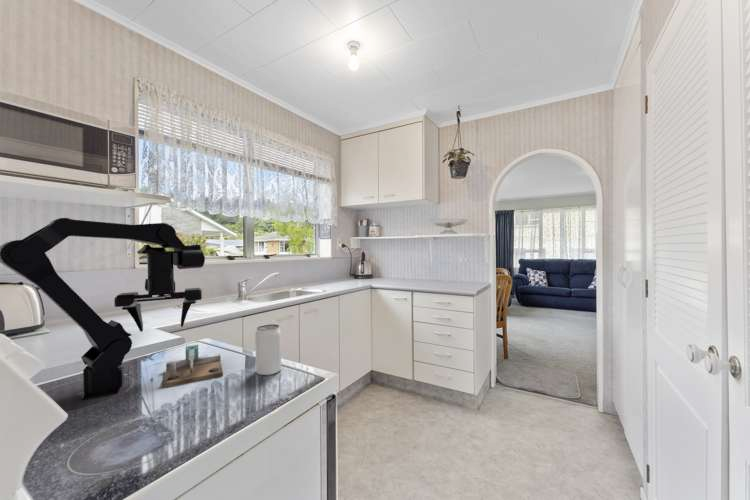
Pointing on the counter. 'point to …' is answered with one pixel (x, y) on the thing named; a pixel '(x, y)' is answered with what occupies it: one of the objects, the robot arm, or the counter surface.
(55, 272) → the robot arm
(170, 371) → the plate
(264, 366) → the can
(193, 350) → the leg
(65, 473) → the counter surface
